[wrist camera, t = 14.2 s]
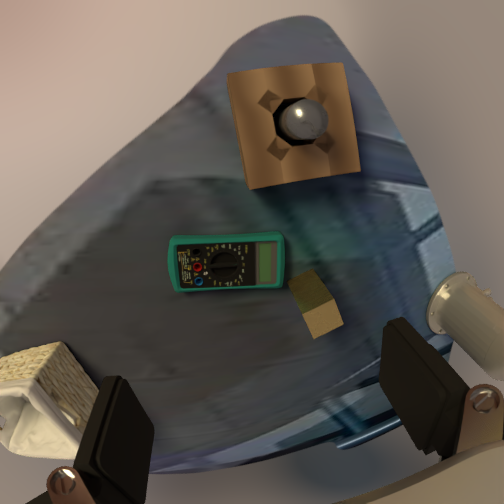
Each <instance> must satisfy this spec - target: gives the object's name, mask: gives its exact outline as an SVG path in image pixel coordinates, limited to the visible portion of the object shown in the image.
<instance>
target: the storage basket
mask: <svg viewBox="0 0 504 504" xmlns="http://www.w3.org/2000/svg"><path fill="white" fill-rule="evenodd" d="M98 392H99V389H98V388H97V386H96V385H95V384H94V383H93V382H92V380H91V379H90V377H89V376H88V375H87V374H86V373H85V372H84V369H83V368H82V366H81V365H80V364H79V363H78V362H77V361H76V359H75V357H74V356H73V354H72V353H71V352H70V351H69V349H68V348H67V346H66V345H65V344H64V343H63V342H61V341H60V342H56V343H52V344H47V345H42V346H39V347H32V348H30V349H28V350H22V351H20V352H16V353H14V354H12V355H9V356H5V357H2V358H1V359H0V415H1V416H2V417H4V418H5V419H6V423H5V424H4V427H3V429H2V428H1V427H0V442H1V443H2V444H3V445H4V446H5V447H6V448H7V449H8V450H9V451H10V452H13V453H15V454H18V455H22V456H28V457H36V458H37V457H38V458H54V459H75V457H76V454H77V451H78V448H79V445H80V442H81V439H82V436H83V433H84V430H85V427H86V425H87V422H88V419H89V416H90V413H91V411H92V408H93V405H94V403H95V400H96V397H97V395H98Z"/></svg>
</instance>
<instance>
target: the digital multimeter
mask: <svg viewBox="0 0 504 504" xmlns="http://www.w3.org/2000/svg"><path fill="white" fill-rule="evenodd" d="M236 242H239V243H236ZM212 243H214V244H212ZM189 244H191V245H189ZM220 251H221V252H220ZM217 252H218V253H217ZM239 267H240V268H239ZM209 269H210V270H209ZM284 269H285V247H284V237H283V235H282V234H281V233H280V232H279V231H274V232H261V233H249V234H231V235H175V236H173V237H172V238H171V240H170V243H169V250H168V271H169V275H170V278H171V282H172V284H173V287H174V289H175V291H176V292H178V293H181V292H193V291H206V290H221V289H247V288H281V287H282V285H283V279H284ZM178 271H179V272H178ZM230 278H231V279H230Z"/></svg>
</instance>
